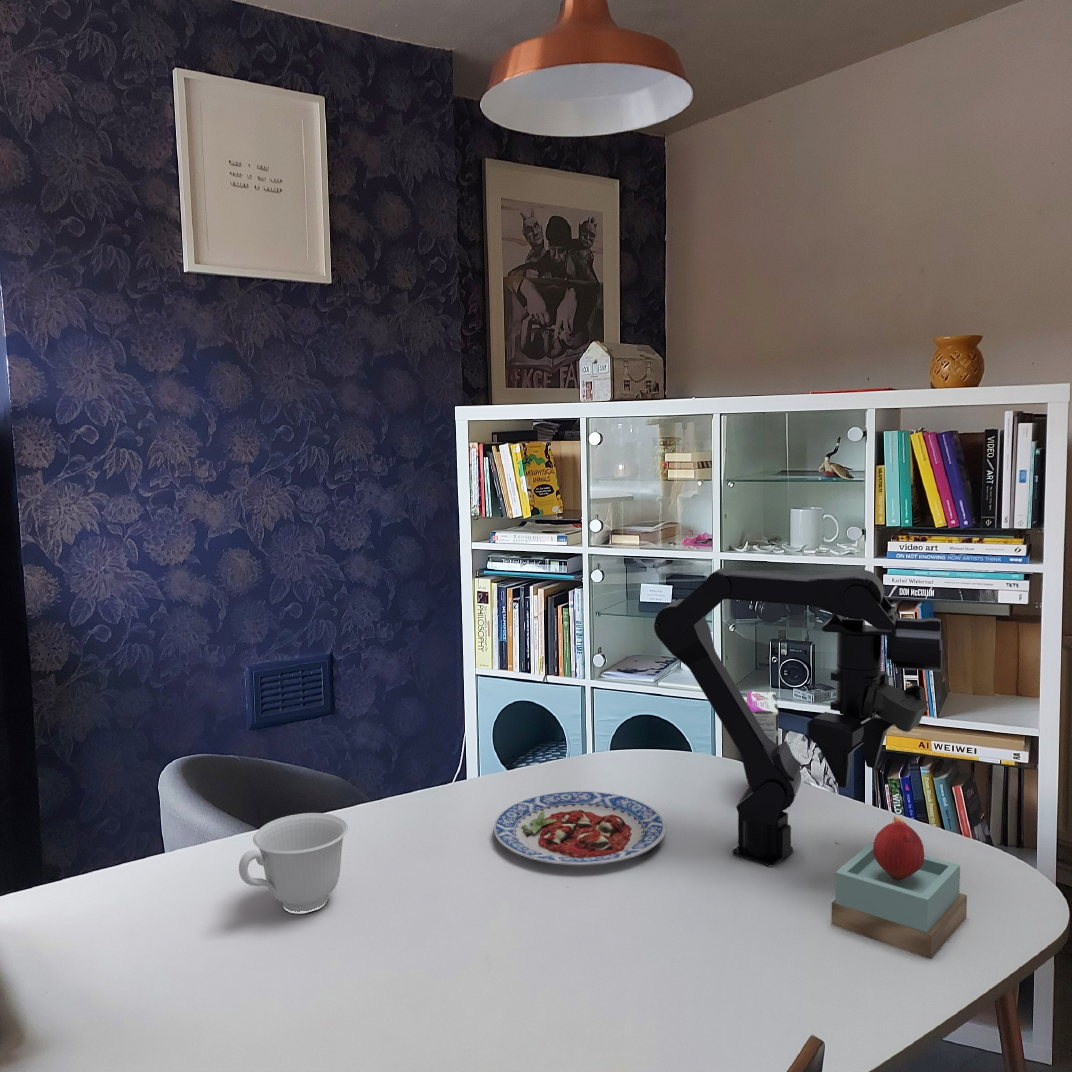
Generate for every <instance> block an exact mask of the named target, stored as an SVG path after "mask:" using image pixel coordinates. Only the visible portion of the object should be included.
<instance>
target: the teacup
mask: <svg viewBox="0 0 1072 1072" xmlns="http://www.w3.org/2000/svg"><path fill="white" fill-rule="evenodd" d="M348 831H349V825H348V823H347V822H346V821H345V820H343V819H342V818H341V817H339V816H337V815H334V814H329V813H325V812H324V813H323V812H306V813H305V812H304V813H298V814H292V815H286V816H283V817H279V818H276V819H274V820H271V821H269V822H267V823H265V824H264V825H263V826H261V827H260V828H259V829H258V830H257V831H256V832H255V834H254V835H253V837H252V838H253V839H252V841H253V844H254V845H255V846H256V848H258V850H259V851H258V850H256V849H251V850H248V851H246V852H245V853H243V855H242V856H241V857H240V860H239V864H238V873H239V876H240V878H241V880H242V882H244V883H246V884H247V885H249V886H254V887H261V886H262V887H266V888H268V891H269V892H270V894H271V895H272V897H274V899H276V900H277V901H279V902H281V903H282V907H283V906H284V907H285V908H286V909H288V910H290V911H295V912H296V911H297V912H300V911H309V910H312V909H315V908H317V907H320V906H322V905H323V904H324V903H325V902H326V900H327V901H328V896H329V895H330V894H331V893H332V892H333V891H334V890H335V888H336V887H337V885H338V882H339V878H340V875H341V864H342V854H343V853H342V850H343V841H344V837H345V836H346V835H347V833H348ZM253 860H255V861H256V863H257V864H258V865H259V866H261V867H263V872H264V876H265V879H264V878H259V877H253V876H251V875H250V874H249V872H248V871H249V869H248V868H249V865H250V863H251V862H252V861H253Z"/></svg>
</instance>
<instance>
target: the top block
mask: <svg viewBox="0 0 1072 1072" xmlns="http://www.w3.org/2000/svg"><path fill="white" fill-rule="evenodd" d="M873 844H874V841H871V842H870V843H868V844H867V845H866V846H865V847H864V848H863V849H861V850H860V851H859V852H857V853H856V854H855V855H854V856H853V857H852V858H851V859H850V860H849V861H847V862H846V863H844V865H842V866H841V868H839V869H837V871H836V872H835V899H836V904H838V905H842V906H845V907H848V908H851V909H854V910H857V911H860V912H863V913H866V914H869V915H873V916H876V917H879V918H882V919H885V920H888V921H891V922H894V923H897V924H900V925H904V926H907V927H910V928H913V929H916V930H919V931H922V932H925V933H928V932H929V931H930V929H931V928H932V927H933V926H934V925H935V924H936V922H937V921H938V920H939V919H940V918H941V917H942V916H943V914H944V913H945V912H946V911H947V910H948V909H949V908H950V906H951V905H952V904H953V903H954V902H955V901H956V899H957V898H958V897H959V893H960V889H961V888H960V885H961V883H960V882H961V881H960V879H961V865H960V864H957V863H953V862H950V861H945V860H942V859H939V858H935V857H931V856H927V855H924V861H923V865H922V866H921V868H920V869H919V870H918V871H917V872H915V873H914V874H912V875H911V876H909V877H907V878H904V879H901V880H894V879H893V878H891V876H890V875H889V874H888V873H887V872H886V871H885V870H884V869H883V868H882V867H881V866H880V865H879V864H878V862H877V861H876V859H875V857H874V852H873Z"/></svg>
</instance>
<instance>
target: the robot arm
mask: <svg viewBox="0 0 1072 1072" xmlns="http://www.w3.org/2000/svg"><path fill="white" fill-rule="evenodd" d="M884 588H885V587H884V584H883V582H882V580H881V578H879V576H877V575H876V574H875V573H874V572H873V571H870V570H866V569H853V570H845V571H834V572H828V573H824V574H816V575H810V574H809V575H807V574H791V573H778V572H762V571H747V570H734V569H730V568H726V567H724V568H722V567H721V568H719V569H716V570H715V571H713V572H712V573H710V574H709V575H708V576H707V578H706V580H705V581H704V582H702V583H701V584H700V585H699V586H698V587H697V588H696V589H694V591H692V592H691V593H690V594H689V595H688V596H686V598H679V599H678V600H674V601H673V602H671V603H669V605H667V606H665V607H664V608H662V609H661V610H660V611H659V612H658V613H657V615H656V616H655V620H654V625H653V629H654V632H655V634H656V637H657V638H658V639H659V641H660V642H661V643H662V644H663V646H664V647H665V648H666V649H667V650H668V651H669V653H670V654H671V655H672V656H673V657H675V658H676V659H677V660H678V661H680V662H681V663H682V664H684V665H685V666H686V667H687V668H688V669H689V671H690V672H691V673H692V675H693V677H694V679H695V680H696V683H697V684H698V685H699V687H700V689H701V690H702V692H703V694H704V695H705V697H706V699H707V700H708V702H709V704H710V706H711V707H712V709H713V711H714V712H715V714H716V715H717V717H718V719H719V721H720V722H721V724H722V725H723V727H724V729H725V731H726V732H727V734H728V735H729V737H730V738H731V741H732V742H733V745H735V747H736V748H737V750H738V752H739V755H740V756H741V757H740V758H741V759H742V764H743V769H744V773H745V778H746V781H748V783H749V785H747V787H746V789H745V790H744V792H743V794H742V796H741V797H740V800H739V802H738V803H737V805H736V811H737V832H738V833H737V838H738V839H737V846H736V847H734V848H733V849H732V851H731V852H732V854H733V855H735V856H738V857H741V858H744V859H748V860H751V861H753V862H757V863H760V864H763V865H765V866H766V865H767V866H770V867H774V866H775V865H777V864H778V863H780V862H781V861H782V860H783V859H785V858H786V857H787V856H789V855H790V854H792V853H793V852H794V847H793V846H792V842H791V841H792V832H791V831H792V826H791V825H790V824H789V813H788V812H785V811H786V809H788V808H789V807H791V805H792V804H793V803H794V801H795V799H796V796H797V793H798V792H799V789H800V786H801V783H802V773H801V770H800V768H801V766H802V762H800V761H799V760H798V759H797V758H795V756H794V754H793V753H792V751H791V748H790V745H789V744H788V741H785V740H784V741H783V742H781V743H780V744H779V746H778V745H777V744H776V743H774V742H773V741H772V740H771V739H769V738H768V737H767V735H766V734H765V733H764V731H763V729H762V728H761V726H760V724H759V723H758V721H757V719H756V718H755V716H754V714H753V713H752V711H751V709H750V708H749V706H748V705H747V700H745V698H744V697H743V694H742V693H741V691H740V690H739V688H738V686H737V685H736V684H735V681H734V680H733V678H732V677H731V675H730V673H729V672H728V670H727V668H726V667H725V665H724V663H723V662H722V660H721V658H720V657H719V655H718V654H717V652H716V648H715V645H714V640H713V637H712V632H711V628H710V626H709V624H708V620H707V618H706V616H707V615H708V614H709V613H710V612H712V611H713V610H714V609H715V608H716V607H718V606H719V604H720V603H722V602H723V601H724V600H733V601H735V600H736V601H746V602H747V601H749V602H759V603H769V604H770V603H774V604H787V605H797V606H808V607H812V608H816V609H818V610H821V611H824V612H827V613H830V614H833V615H832V616H831V617H830V619H828V620H827V621H825V622H824V624H823V625H822V627H821V630H822V632H824V633H836V670H833V671H831V672H830V681H835V683H836V685H835V687H836V688H835V689H836V692H835V693H836V694H835V695H836V698H835V699H834V700H832V701H831V702H830V704H829V705H830V708H829V709H830V710H831V711H835V712H839V714H838V713H833V712H829V711H824V712H822V713H820V714H819V715H816V716H815V717H813V718H812V719H811V720H809V721H808V722H807V723H806V738H807V739H809V740H811V741H812V743H814V744H816V746H817V747H818V749H819V751H820V752H821V754H822V756H823V759H825V762H826V763H827V766H828V768H829V769H830V773H831V774H832V777H833V779H834V780H835V782H836V784H837V786H838V788H839V787H840V788H844V789H845V788H847V787H848V784H849V779H850V774H851V767H852V761H853V760H852V759H853V754H854V752H855V751H856V750H857V749H858V748H861V750H862V751H861V752H862V755H863V759H864V762H865V766H866V767H867V768H871V769H874V768H876V766H877V763H878V760H879V757H880V753H881V750H882V747H883V744H884V741H885V739H886V736H887V733H888V730H890V728H891V727H893V726H895V727H896V728H897V729H898V730H900V731H902V732H907V733H908V732H911V731H912V730H913V729H914V728H916V727H918V726H919V725H920V722H921V721H922V717H923V715H924V713H926V712H927V711H928V710H929V708H928V707H929V706H928V703H929V701H928V700H926V690H925V687H923V686H921V685H920V684H917V683H913V684H911V685H910V686H909V687H907V688H906V689H904V690H903V687H902V686H899V687H896V686H893V685H891V684H890V676H889V674H888V671H884V670H882V665H883V664H882V660H883V659H882V656H883V651H882V650H883V636H886V660H887V661H890V664H894V667H895V669H906V670H918V671H919V670H920V671H931V672H942V657H943V656H942V654H943V653H942V652H943V639H941V635H942V634H941V630H942V629H941V627H942V625H941V619H940V618H937V617H927V618H913V617H910V618H909V617H899V613H898V612H897V610H896V609H895V608H894V607H893V606H892V604H891V603H890V602H889V600H888V599H887V598H886V596H885V589H884ZM866 622H867V623H868V624H866Z"/></svg>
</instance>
